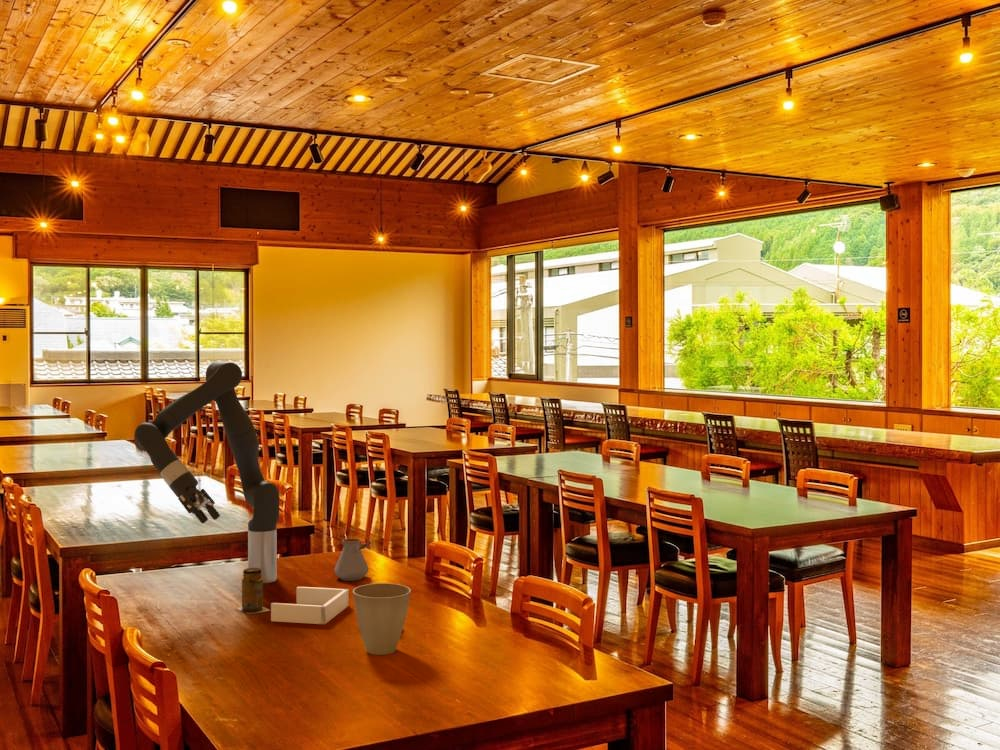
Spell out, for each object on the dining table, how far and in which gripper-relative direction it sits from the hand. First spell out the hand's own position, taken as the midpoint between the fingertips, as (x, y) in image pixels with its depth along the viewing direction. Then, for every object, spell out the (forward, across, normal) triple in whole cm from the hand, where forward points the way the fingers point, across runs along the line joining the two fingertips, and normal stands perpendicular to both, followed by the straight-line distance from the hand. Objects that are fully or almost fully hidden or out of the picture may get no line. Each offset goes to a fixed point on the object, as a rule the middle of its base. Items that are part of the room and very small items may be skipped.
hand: (211, 519), depth 303 cm
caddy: (+41, -3, -8) cm, 42 cm away
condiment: (+29, -3, +6) cm, 30 cm away
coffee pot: (+42, +36, -11) cm, 56 cm away
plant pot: (+62, -35, -29) cm, 76 cm away
